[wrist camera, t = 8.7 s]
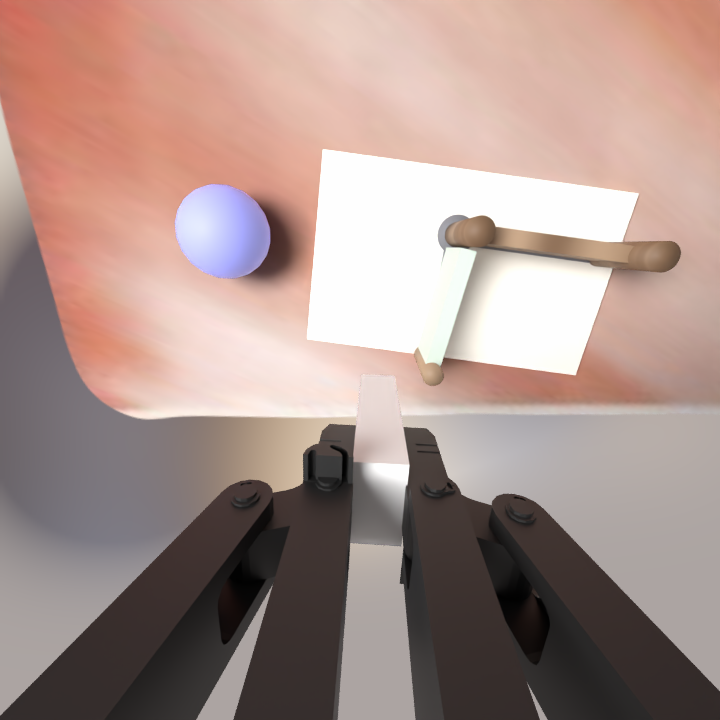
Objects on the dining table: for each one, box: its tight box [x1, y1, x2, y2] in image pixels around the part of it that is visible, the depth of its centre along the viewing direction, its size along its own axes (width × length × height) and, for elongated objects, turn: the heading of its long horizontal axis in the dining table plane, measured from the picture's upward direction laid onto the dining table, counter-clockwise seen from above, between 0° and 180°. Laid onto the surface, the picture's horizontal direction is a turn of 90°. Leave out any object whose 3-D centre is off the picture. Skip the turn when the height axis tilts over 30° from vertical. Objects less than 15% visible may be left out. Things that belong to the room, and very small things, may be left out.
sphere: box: [175, 184, 270, 279], centre depth 27 cm, size 7×7×7 cm
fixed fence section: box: [445, 215, 681, 272], centre depth 27 cm, size 14×2×7 cm, turn 83°
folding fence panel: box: [414, 247, 477, 386], centre depth 28 cm, size 10×2×6 cm, turn 167°
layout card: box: [307, 149, 639, 375], centre depth 31 cm, size 26×16×1 cm, turn 83°
